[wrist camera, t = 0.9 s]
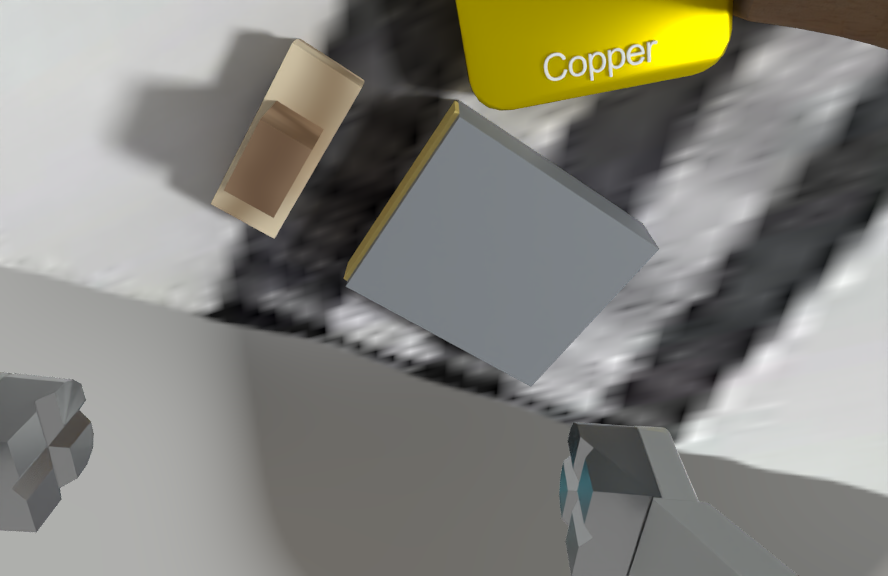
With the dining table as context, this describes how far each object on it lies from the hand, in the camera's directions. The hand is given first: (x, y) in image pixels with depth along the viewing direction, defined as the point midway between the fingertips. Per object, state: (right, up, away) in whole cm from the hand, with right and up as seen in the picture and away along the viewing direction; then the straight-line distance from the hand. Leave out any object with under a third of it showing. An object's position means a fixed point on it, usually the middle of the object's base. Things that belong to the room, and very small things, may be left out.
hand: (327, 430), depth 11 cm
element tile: (+10, +22, +27) cm, 36 cm away
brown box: (-8, +11, +29) cm, 32 cm away
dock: (+6, +6, +36) cm, 37 cm away
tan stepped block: (-8, +13, +32) cm, 35 cm away
